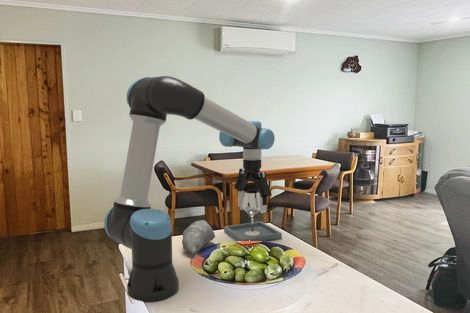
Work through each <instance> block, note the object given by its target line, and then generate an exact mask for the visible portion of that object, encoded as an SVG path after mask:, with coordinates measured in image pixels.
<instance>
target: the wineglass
mask: <svg viewBox="0 0 470 313" xmlns="http://www.w3.org/2000/svg"><path fill="white" fill-rule="evenodd" d="M260 197H261V194H260V192H259V190H255V189H254V190H252V189H251V190H244V198H243V203H242V206H241V207H242V208H243V209H242V210H243V211H245V213H247V214H248V215H249V216H250V218H251V219H250V221H251V222H250V223H251V231H247V232H245V235H247V236H258V235H259V234H260V233H259V232H257V231H253V222H254V217H255V215H257V214H258V213H260Z"/></svg>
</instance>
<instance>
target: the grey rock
mask: <svg viewBox="0 0 470 313" xmlns="http://www.w3.org/2000/svg"><path fill="white" fill-rule="evenodd" d="M208 223H209V222H207V221H206V220H203V219H201V220H195V221H194V222H192V223H191V224H190V225H189V226H188V227H186V229H184V230H183V232H182V240H181V244H182V248H183V250H184V251H185V252H186V253H187V254H190V255H191V254H193V255H195V254H196V253H198V252H199V251H200V250H201V249H202V247H204V246H205V245H206V244H207V243H209V242H211V241H213V240H214V239H215V238H216V235H215V231H214V230H213V229H212V227H211V225H210V224H208ZM197 251H198V252H197Z"/></svg>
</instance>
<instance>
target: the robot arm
mask: <svg viewBox="0 0 470 313" xmlns="http://www.w3.org/2000/svg"><path fill="white" fill-rule="evenodd" d="M126 102H127V104H128V106H129V108H130V109H129V118H130V119H131V121H132V127H131V133H130V139H129V142H128V143H129V145H128V150H127V153H126V155H127V156H126V160H125V165H124V166H125V167H124V173H123V176H122V183H121V189H120V194H119V196H118V197H117V198H115V199H114V200H113V206H112V207H111V209H110V210H108V211H107V213H106V214H105V217H104V219H103V220H104V221H103V223H104V225H103V226H104V230H105V233H106V234H107V236H108V237H109V238H111V239H112V240H113V241H114V242H116V243H118V244H120V245H122V246H124V247H126V248H127V249H130V250H131V261H132V262H131V263H132V265H131V266H132V267H131V271H130V274H129V278H128V281H127V286H126V290H127V292H126V293H127V295H128V297H129V298H131V299H132V300H135V301H138V302H157V301H162V300H166V299H168V298H171V297H173V296H174V295H175V294H177V292H178V291H179V288H180V284H179V283H180V281H179V277H178V275H177V271H176V269H175V267H174V263H173V239H172V238H173V237H172V236H173V234H172V232H173V226H172V221H171V220H172V219H171V216H170V215H169V213H167V212H165V211H164V210H161V209H154V208H152V205H151V203H150V202H149V200H148V199H149V198H148V197H149V192H150V191H149V190H150V186H151V180H152V175H153V168H154V163H155V157H156V152H157V146H158V139H159V135H160V134H159V133H160V128H161V127H162V126H163V125H164V124H166V121H167V116H168V115H171V116H179V117H183V118H185V119H187V120H190V121H191V120H197V121H198V122H200V123H203V124H205V125H206V126H209V127H211V128H212V129H215V130H216V131H218V132H219V134H218V135H219V136H218V137H219V138H218V141H219V143H220V144H221V145H222V146H223V147H227V148H228V147H230V148H233V147H239V148H243V149H242V158H243V159H242V167H243V168H239V169H238V175H237V178H236V180H235V184H234V187H233V188H234V190H236V191H237V199H238V200H237V204H238V205H237V206H238V207H243V206H242V203H243V198H244V194H245V190H244V189H245V187H246V186H247V184H248V183H249V182H251V183H253V184H255V186H256V188H257V191H259V194H260V211H259V213H260V214H265V213H267V205H268V197H271V196H272V192H271V188H270V184H269V183H268V180H267V173H266V172H265V171H263V172H261V168H262V159H261V158H262V150H269V149H271V148H272V147H273V146H274V144H275V134H274V131H273V130H272V129H270V128H267V127H263V126H262V122H261V121H259V120H247V119H245V118H243V117H241V116H240V115H238V114H236V113H234V112H232V111H230V110H229V109H227V108H225V107H224V106H221V105H220V104H218V103H216V102H215V101H212V100H211V99H209V98H207V97H206V95H205V93H204V91H201V90H199V89H198V88H197V87H194V86H193V85H190V84H189V83H187V82H184V81H182V80H181V79H179V78H176V77H174V76H168V75H163V76H153V77H151V76H150V77H149V76H145V77H142V78H139V79H136V80H135V81H133V82H132V83H131V84H130V86H129V87H128V89H127V92H126Z"/></svg>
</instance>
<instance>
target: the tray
mask: <svg viewBox="0 0 470 313" xmlns="http://www.w3.org/2000/svg"><path fill="white" fill-rule="evenodd" d="M247 231H251V222H247V223H240V224H233V225H226V226H223V233H225V235H227V236H229V237H230V238H231V239H232V240H234V241H235V240H236V241H249V240H250V241H267V242H272V241H273V242H274V241H279V240H282V239H283V234H282V232H281V231H279V230H277V229H275V228H273V227H272V226H270V225H269V224H267V223H265V222H264V221H261V220H260V221H253V231H257V232H259V233H260V234H259V235H258V236H247V235H245V232H247ZM236 241H235V242H236Z"/></svg>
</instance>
